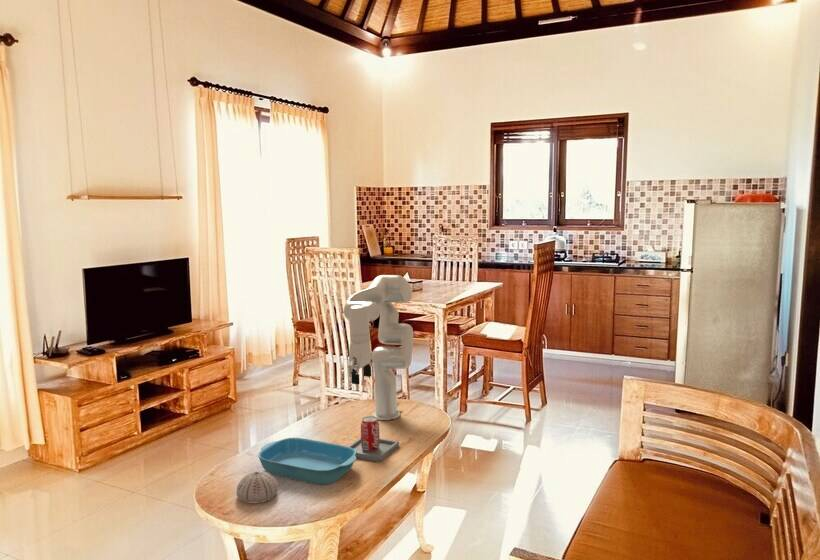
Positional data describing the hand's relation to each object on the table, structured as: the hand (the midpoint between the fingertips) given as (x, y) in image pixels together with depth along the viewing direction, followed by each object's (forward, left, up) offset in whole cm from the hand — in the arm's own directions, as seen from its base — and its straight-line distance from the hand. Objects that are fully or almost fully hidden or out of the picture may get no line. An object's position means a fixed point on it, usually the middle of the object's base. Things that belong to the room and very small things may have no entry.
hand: (361, 380), depth 232 cm
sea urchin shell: (+52, -10, -26) cm, 59 cm away
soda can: (+5, +6, -25) cm, 27 cm away
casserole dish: (+29, -6, -27) cm, 39 cm away
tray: (+5, +6, -26) cm, 27 cm away
